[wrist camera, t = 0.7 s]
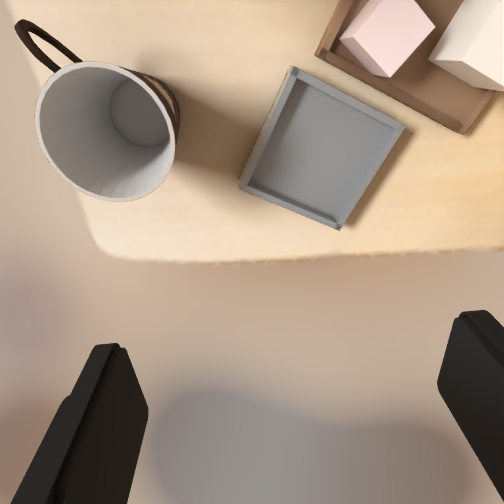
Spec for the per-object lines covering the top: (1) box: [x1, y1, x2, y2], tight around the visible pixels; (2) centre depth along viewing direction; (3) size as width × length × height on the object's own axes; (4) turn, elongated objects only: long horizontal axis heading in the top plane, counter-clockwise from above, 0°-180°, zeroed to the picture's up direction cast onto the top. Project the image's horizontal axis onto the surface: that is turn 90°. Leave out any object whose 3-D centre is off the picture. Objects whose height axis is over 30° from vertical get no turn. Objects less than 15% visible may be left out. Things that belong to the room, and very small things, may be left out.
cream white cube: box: [427, 0, 504, 91], centre depth 26 cm, size 5×5×5 cm
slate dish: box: [239, 66, 406, 231], centre depth 32 cm, size 11×11×2 cm
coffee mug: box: [14, 19, 180, 202], centre depth 25 cm, size 12×9×10 cm
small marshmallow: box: [339, 0, 435, 77], centre depth 25 cm, size 4×4×4 cm
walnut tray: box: [315, 0, 496, 135], centre depth 27 cm, size 12×15×2 cm
